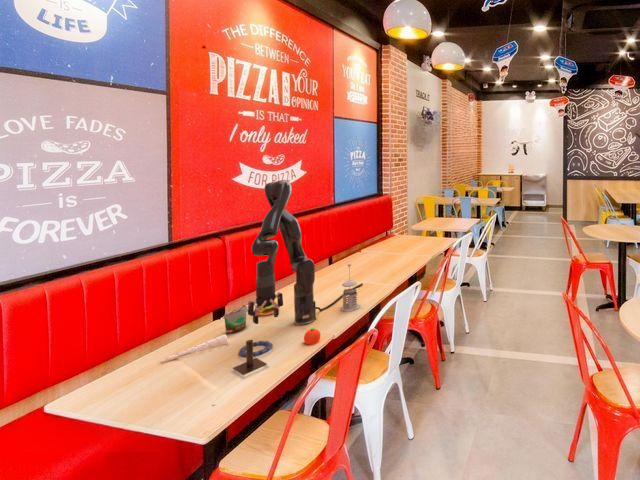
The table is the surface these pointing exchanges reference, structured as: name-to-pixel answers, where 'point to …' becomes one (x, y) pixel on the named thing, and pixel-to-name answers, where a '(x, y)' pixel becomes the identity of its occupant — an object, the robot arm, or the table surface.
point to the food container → (236, 320)
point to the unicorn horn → (200, 347)
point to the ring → (267, 345)
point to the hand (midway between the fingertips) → (266, 320)
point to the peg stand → (249, 361)
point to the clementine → (312, 336)
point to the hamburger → (268, 309)
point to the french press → (352, 295)
